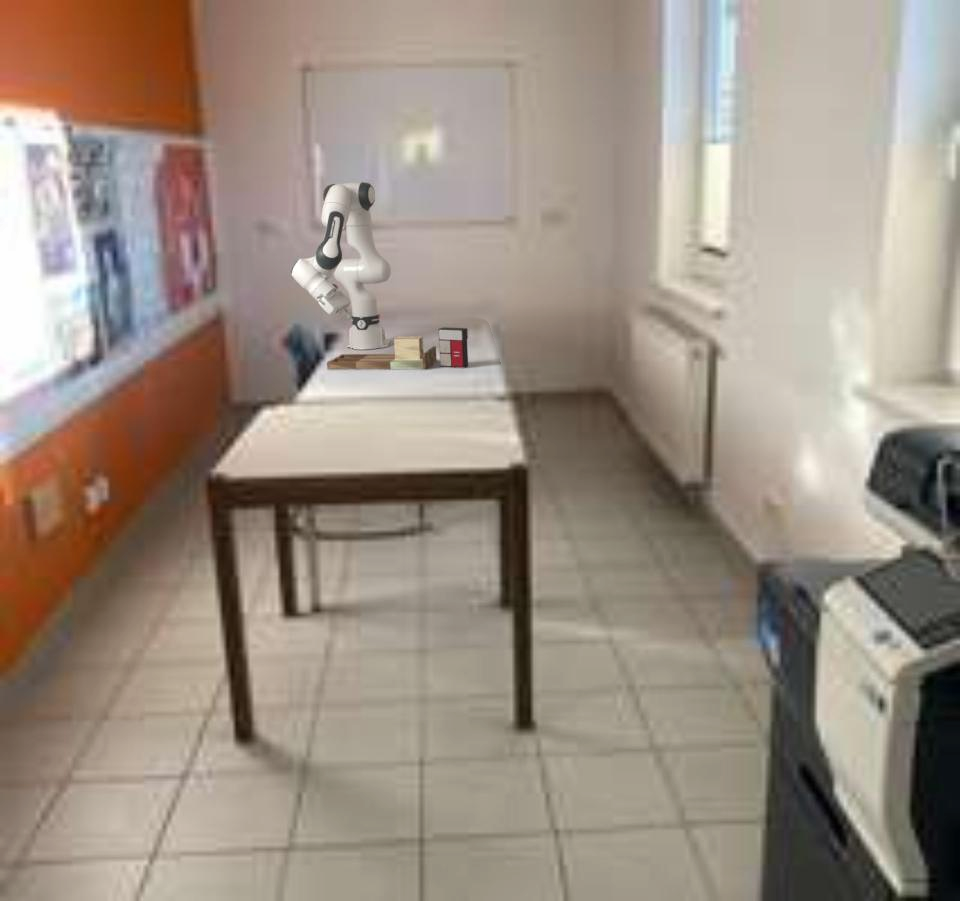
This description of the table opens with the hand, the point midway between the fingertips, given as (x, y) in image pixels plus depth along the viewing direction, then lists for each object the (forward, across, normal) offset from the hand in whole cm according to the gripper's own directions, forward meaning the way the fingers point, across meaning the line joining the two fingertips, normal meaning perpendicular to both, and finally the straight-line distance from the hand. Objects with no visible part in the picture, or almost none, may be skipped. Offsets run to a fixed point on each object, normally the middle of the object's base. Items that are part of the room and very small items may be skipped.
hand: (350, 317), depth 393 cm
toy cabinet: (+44, -4, -16) cm, 47 cm away
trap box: (+22, -1, +5) cm, 23 cm away
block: (+28, -1, -5) cm, 29 cm away
